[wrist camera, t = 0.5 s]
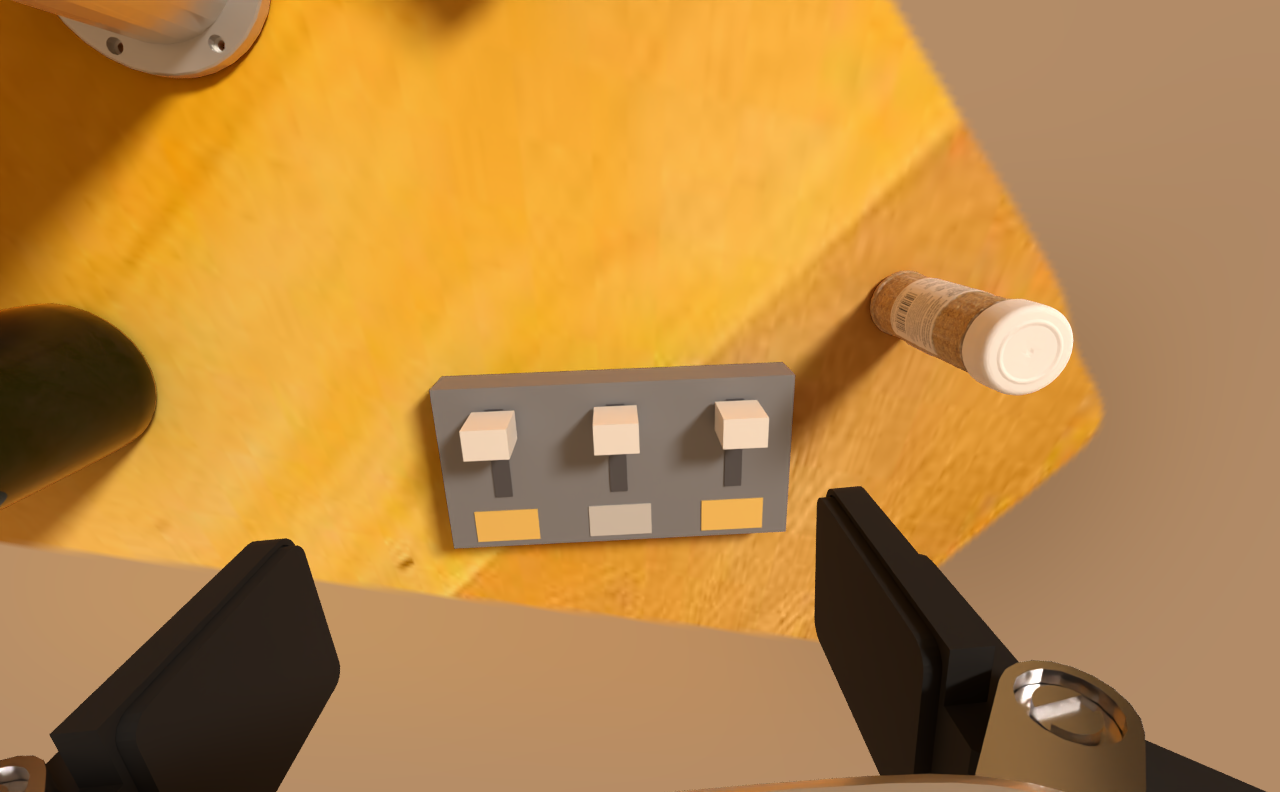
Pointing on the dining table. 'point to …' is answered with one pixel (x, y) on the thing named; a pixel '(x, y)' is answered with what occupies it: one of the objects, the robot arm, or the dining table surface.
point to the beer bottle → (65, 395)
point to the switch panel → (615, 456)
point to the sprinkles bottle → (976, 330)
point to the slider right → (741, 424)
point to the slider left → (488, 436)
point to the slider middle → (616, 430)
